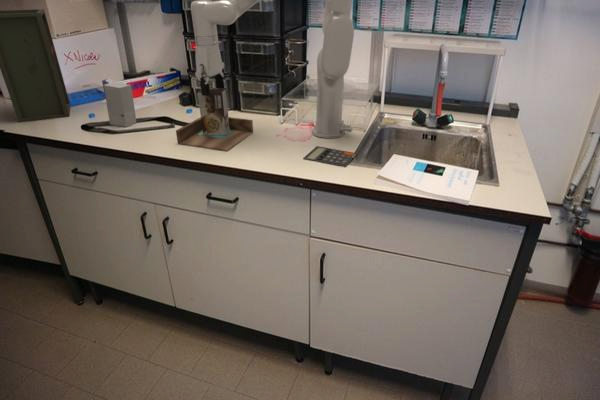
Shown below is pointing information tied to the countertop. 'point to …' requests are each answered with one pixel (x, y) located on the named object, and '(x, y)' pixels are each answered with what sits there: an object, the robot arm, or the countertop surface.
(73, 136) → the countertop surface
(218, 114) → the coffee box
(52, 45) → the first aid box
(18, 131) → the countertop surface
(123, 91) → the skincare box
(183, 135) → the tray
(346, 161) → the calculator
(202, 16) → the robot arm
